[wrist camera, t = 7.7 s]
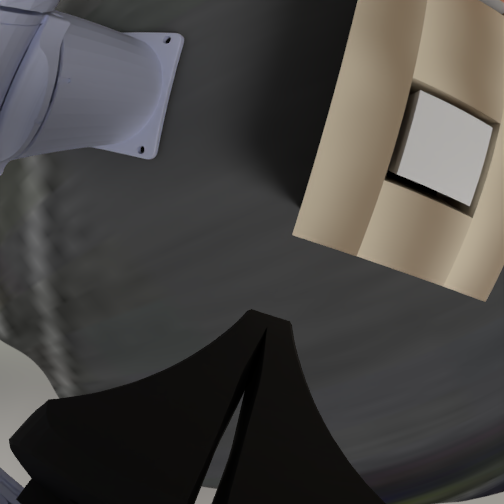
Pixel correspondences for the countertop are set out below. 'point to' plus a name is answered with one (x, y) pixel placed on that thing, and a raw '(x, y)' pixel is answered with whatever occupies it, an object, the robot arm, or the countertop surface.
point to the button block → (385, 135)
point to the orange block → (495, 5)
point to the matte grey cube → (440, 147)
